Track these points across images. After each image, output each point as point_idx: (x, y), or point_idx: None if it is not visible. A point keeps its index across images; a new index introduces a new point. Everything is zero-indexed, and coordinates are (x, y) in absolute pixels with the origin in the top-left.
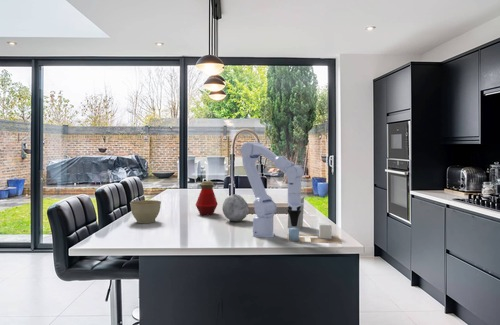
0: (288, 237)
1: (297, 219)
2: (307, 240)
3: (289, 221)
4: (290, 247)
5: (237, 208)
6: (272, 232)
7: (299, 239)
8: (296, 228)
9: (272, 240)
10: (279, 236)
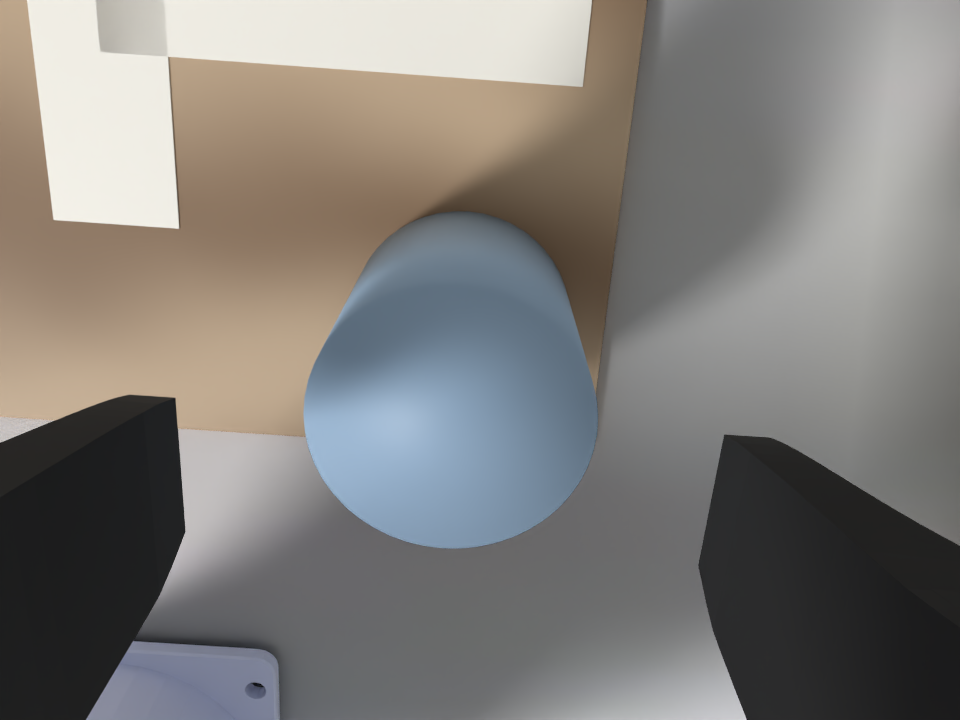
0: (248, 409)
1: (949, 561)
2: (471, 17)
3: None
4: (941, 406)
5: None
6: (151, 714)
7: (389, 197)
8: (409, 357)
9: (457, 661)
10: None
